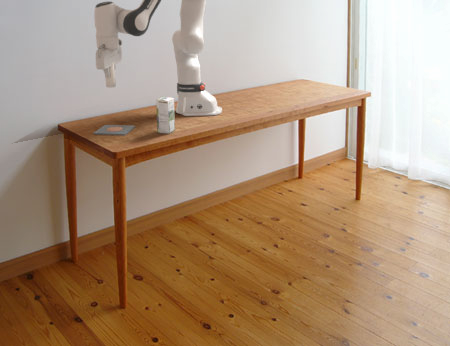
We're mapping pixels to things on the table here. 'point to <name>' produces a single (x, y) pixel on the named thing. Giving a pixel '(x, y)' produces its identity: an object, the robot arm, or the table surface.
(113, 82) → the tube
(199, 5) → the robot arm
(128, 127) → the card
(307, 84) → the table surface
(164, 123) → the syrup box
